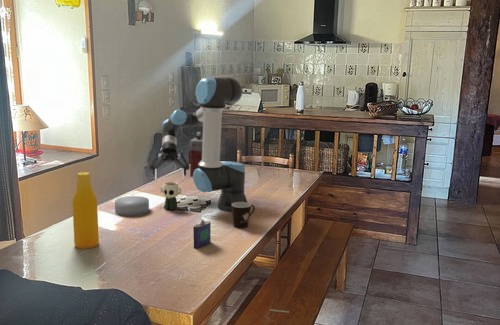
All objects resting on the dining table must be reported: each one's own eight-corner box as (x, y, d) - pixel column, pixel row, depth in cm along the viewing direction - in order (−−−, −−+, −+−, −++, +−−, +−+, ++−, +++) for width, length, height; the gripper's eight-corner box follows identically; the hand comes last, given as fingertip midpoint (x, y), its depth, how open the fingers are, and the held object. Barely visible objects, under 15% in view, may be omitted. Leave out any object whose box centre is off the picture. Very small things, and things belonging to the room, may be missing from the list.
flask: (207, 241, 199) (207, 216, 197) (212, 242, 197) (213, 217, 195) (191, 247, 192) (191, 222, 190) (197, 249, 190) (197, 223, 188)
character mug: (157, 209, 238) (157, 184, 235) (163, 205, 244) (163, 180, 242) (178, 212, 235) (178, 186, 232) (184, 207, 242) (184, 182, 239)
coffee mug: (233, 230, 213) (234, 208, 211) (229, 223, 221) (229, 202, 219) (259, 228, 216) (259, 206, 214) (253, 221, 224) (254, 201, 222)
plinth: (153, 213, 232) (153, 203, 231) (119, 217, 225) (119, 207, 224) (143, 204, 246) (143, 194, 245) (111, 208, 238) (111, 198, 237)
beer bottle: (103, 241, 195) (100, 171, 189) (90, 250, 186) (86, 177, 180) (83, 239, 198) (80, 169, 191) (69, 247, 189) (65, 175, 183)
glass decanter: (190, 173, 314) (190, 130, 308) (207, 174, 312) (207, 131, 306) (186, 176, 305) (186, 132, 299) (203, 177, 303) (204, 133, 297)
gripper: (193, 150, 260) (194, 184, 249) (145, 150, 256) (144, 185, 245) (193, 142, 254) (194, 176, 243) (144, 142, 250) (143, 177, 239)
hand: (169, 181), depth 244 cm, fingers open, 13 cm apart
